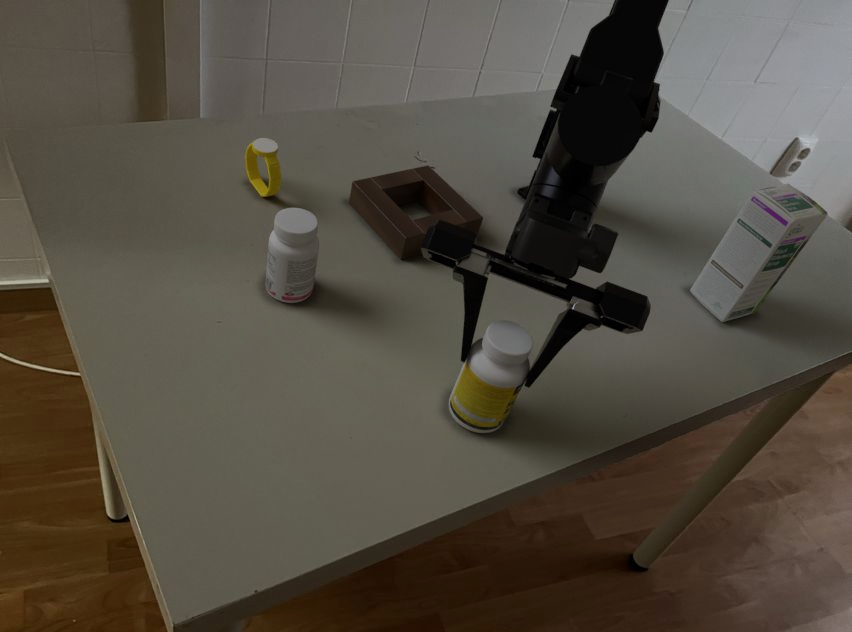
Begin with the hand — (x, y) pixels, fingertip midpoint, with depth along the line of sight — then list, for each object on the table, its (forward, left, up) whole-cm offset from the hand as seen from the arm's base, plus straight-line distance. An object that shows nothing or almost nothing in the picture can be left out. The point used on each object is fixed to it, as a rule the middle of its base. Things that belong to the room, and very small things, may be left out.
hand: (494, 374), depth 59 cm
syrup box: (-39, -1, -7) cm, 40 cm away
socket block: (-12, -27, -7) cm, 30 cm away
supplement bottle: (-1, -1, -7) cm, 7 cm away
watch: (+2, -38, -7) cm, 39 cm away
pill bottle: (+7, -22, -7) cm, 24 cm away
